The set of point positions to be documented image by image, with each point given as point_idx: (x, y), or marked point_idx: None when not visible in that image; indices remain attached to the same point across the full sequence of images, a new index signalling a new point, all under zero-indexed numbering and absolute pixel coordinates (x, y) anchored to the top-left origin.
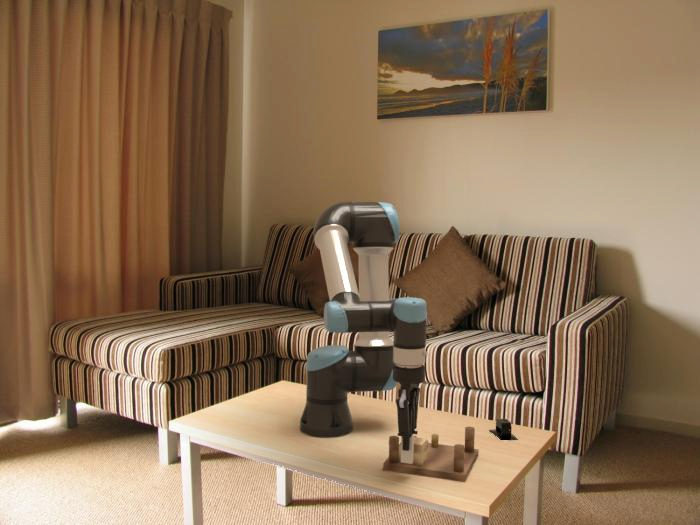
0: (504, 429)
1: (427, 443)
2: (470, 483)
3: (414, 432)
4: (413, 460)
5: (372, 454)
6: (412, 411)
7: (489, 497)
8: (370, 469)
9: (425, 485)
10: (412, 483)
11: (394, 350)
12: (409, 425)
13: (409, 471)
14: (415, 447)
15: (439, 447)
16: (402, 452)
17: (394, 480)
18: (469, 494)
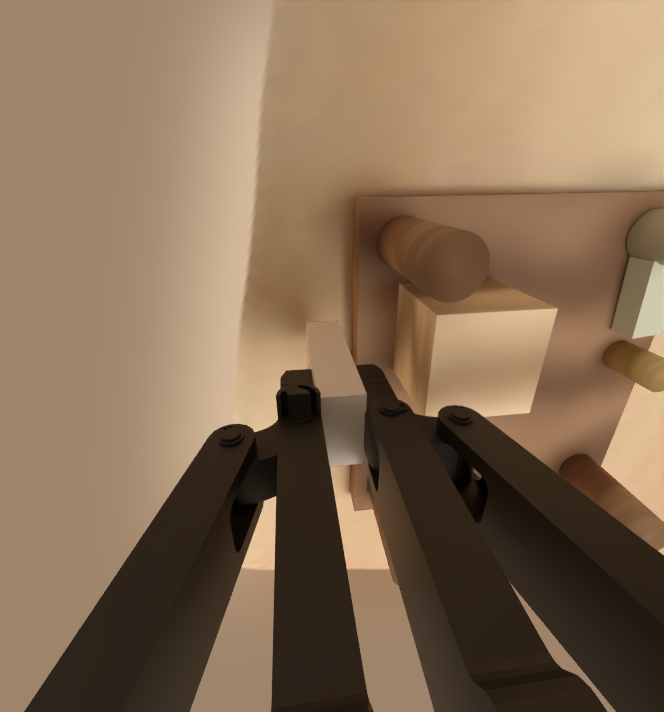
0: None
1: (623, 334)
2: (344, 506)
3: (368, 480)
4: (400, 343)
5: (546, 57)
6: (425, 659)
7: (268, 562)
8: (332, 127)
9: (265, 406)
10: (260, 362)
11: None
12: (231, 580)
13: (354, 325)
14: (422, 381)
15: (605, 373)
16: (309, 352)
17: (254, 289)
18: (262, 524)
